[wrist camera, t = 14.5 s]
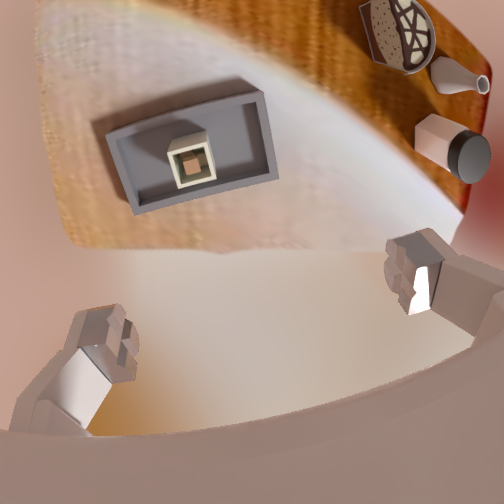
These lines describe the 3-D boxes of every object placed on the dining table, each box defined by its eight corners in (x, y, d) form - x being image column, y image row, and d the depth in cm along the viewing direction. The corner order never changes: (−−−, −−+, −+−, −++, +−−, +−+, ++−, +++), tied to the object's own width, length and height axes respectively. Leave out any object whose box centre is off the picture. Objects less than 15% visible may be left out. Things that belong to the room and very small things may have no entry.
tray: (110, 130, 40) (104, 135, 38) (259, 89, 40) (263, 91, 38) (137, 207, 48) (134, 215, 45) (275, 172, 48) (279, 178, 45)
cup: (172, 139, 42) (166, 153, 36) (206, 130, 42) (206, 142, 36) (181, 170, 45) (178, 190, 39) (214, 162, 45) (216, 180, 39)
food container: (406, 66, 40) (445, 72, 32) (375, 70, 40) (411, 77, 32) (389, -4, 33) (426, -11, 25) (355, -2, 33) (389, -12, 25)
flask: (424, 60, 39) (463, 66, 31) (452, 52, 38) (492, 59, 30) (434, 98, 43) (473, 111, 35) (461, 89, 42) (499, 101, 34)
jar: (445, 158, 50) (487, 184, 40) (412, 161, 50) (454, 189, 40) (447, 112, 45) (493, 131, 35) (413, 113, 44) (459, 132, 35)
